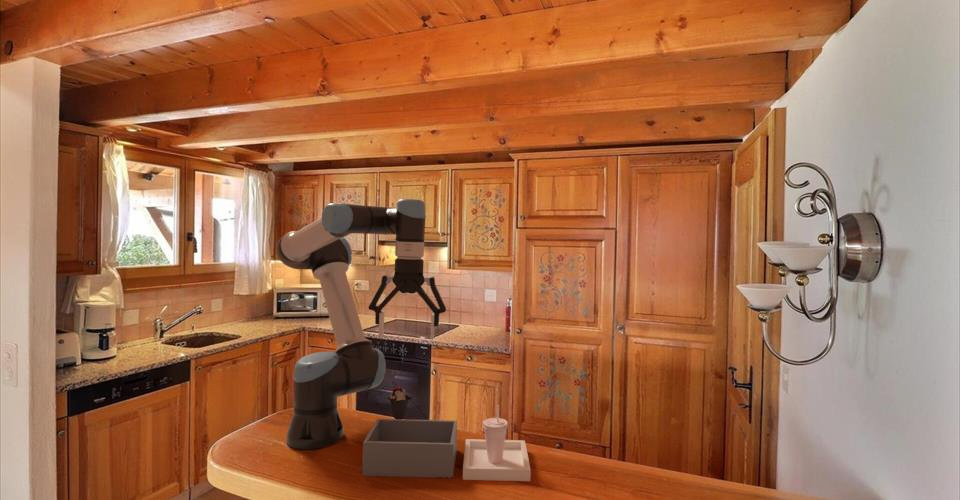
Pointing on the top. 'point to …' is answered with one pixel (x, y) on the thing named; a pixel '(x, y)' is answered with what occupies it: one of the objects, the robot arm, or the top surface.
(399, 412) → the sundae
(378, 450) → the deep bin
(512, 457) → the tray
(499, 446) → the smoothie
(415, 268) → the robot arm
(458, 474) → the top surface
